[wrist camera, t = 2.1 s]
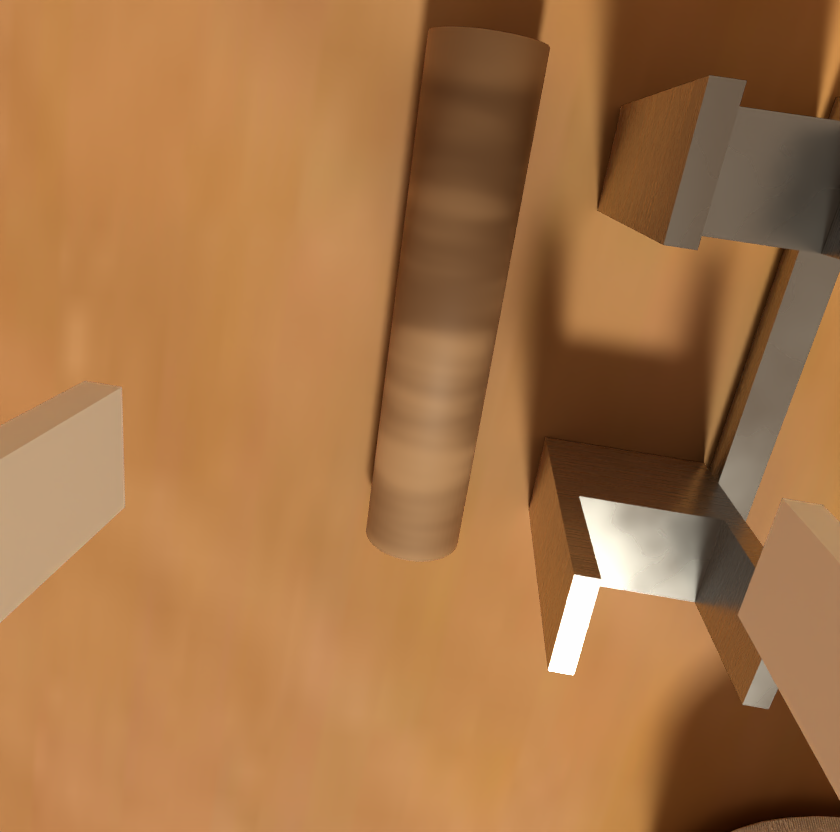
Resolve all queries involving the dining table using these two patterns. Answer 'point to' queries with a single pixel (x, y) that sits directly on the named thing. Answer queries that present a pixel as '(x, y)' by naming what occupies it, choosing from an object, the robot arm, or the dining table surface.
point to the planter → (795, 825)
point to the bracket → (757, 390)
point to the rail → (451, 280)
